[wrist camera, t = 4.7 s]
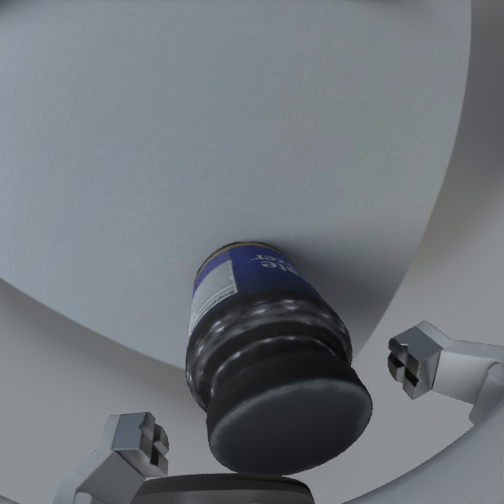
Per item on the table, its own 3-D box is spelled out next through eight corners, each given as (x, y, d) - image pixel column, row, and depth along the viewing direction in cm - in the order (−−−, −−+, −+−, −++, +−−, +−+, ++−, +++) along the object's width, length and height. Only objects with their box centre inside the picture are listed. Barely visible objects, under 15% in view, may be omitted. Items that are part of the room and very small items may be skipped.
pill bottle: (313, 278, 17) (424, 395, 7) (250, 347, 18) (294, 494, 7) (236, 216, 15) (299, 305, 5) (172, 297, 16) (141, 455, 6)
